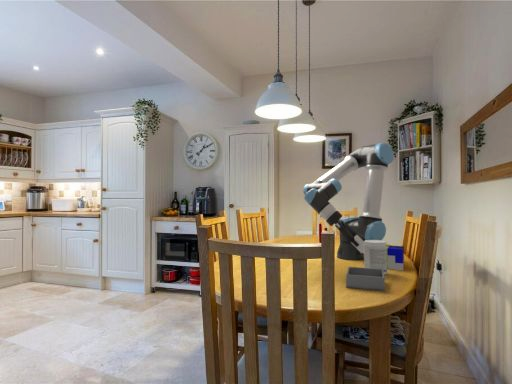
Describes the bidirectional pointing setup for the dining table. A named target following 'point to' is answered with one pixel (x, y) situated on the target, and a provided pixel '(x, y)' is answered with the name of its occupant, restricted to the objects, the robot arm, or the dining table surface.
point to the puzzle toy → (395, 257)
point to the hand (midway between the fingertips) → (364, 248)
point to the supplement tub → (375, 255)
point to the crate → (365, 278)
